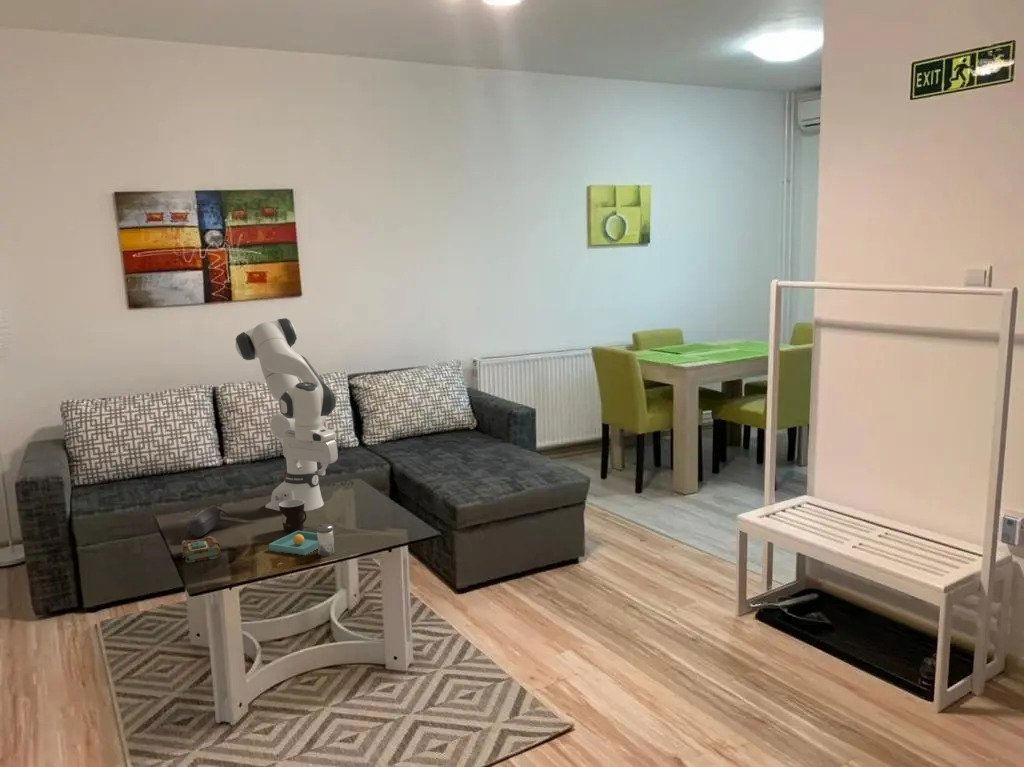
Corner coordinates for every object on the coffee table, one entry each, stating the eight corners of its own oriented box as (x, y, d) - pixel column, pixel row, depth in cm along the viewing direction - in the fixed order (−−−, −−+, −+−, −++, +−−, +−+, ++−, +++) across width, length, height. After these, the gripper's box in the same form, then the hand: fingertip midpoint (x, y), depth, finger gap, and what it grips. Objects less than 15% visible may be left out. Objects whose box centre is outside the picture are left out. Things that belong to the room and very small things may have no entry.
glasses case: (203, 524, 296) (201, 503, 295) (231, 523, 295) (230, 503, 294) (181, 541, 278) (179, 519, 277) (212, 540, 278) (210, 518, 276)
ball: (293, 547, 268) (289, 537, 267) (299, 542, 271) (296, 532, 270) (301, 546, 266) (297, 536, 266) (307, 541, 269) (304, 531, 269)
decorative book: (215, 542, 277) (214, 528, 276) (222, 558, 261) (221, 543, 260) (172, 550, 271) (171, 535, 270) (177, 567, 255) (176, 551, 255)
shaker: (314, 555, 260) (312, 528, 259) (325, 549, 265) (323, 522, 264) (328, 557, 258) (326, 529, 257) (338, 551, 263) (336, 524, 262)
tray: (269, 551, 265) (269, 543, 265) (298, 537, 278) (297, 530, 278) (303, 556, 259) (303, 549, 259) (331, 542, 272) (331, 535, 272)
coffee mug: (279, 529, 287) (277, 501, 286) (304, 525, 291) (302, 498, 289) (284, 539, 277) (281, 510, 275) (309, 535, 280) (307, 506, 278)
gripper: (277, 431, 270) (279, 472, 272) (327, 437, 261) (329, 479, 264) (290, 427, 276) (292, 467, 278) (339, 433, 267) (341, 474, 269)
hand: (310, 473), depth 271 cm, fingers open, 8 cm apart
